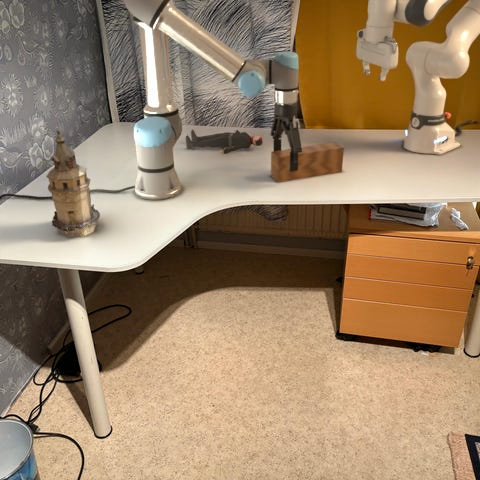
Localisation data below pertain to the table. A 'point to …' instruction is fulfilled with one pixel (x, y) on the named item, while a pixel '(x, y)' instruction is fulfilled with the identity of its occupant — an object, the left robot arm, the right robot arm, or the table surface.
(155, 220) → the table surface
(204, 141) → the toy
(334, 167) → the bar
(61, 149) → the miniature building
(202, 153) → the table surface
